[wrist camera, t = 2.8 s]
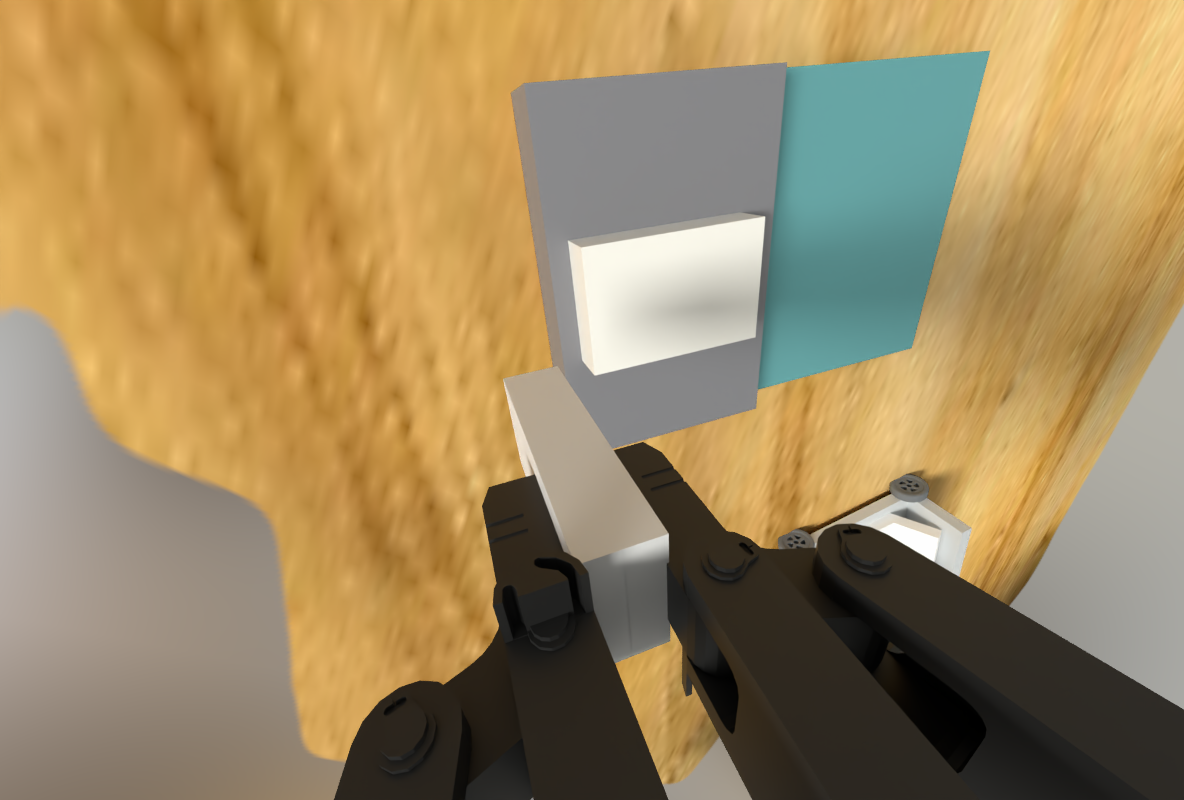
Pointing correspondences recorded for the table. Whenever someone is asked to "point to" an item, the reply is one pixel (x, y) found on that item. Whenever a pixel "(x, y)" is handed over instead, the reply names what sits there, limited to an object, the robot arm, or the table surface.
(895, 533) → the toy car
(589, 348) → the tile
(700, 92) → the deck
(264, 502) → the table surface
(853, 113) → the mat
